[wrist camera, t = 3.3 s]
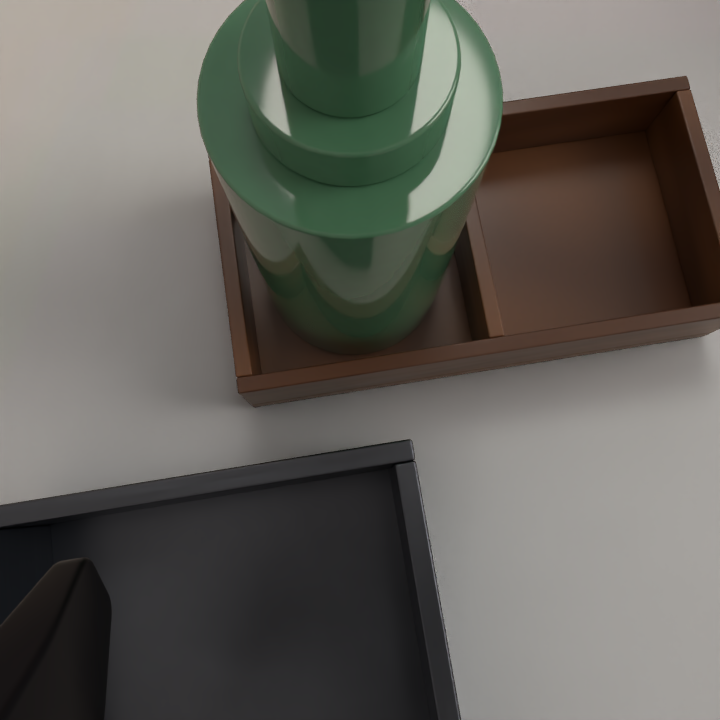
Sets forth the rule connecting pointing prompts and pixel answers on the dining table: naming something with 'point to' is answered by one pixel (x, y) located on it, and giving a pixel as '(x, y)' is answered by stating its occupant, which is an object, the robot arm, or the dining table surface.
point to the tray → (256, 589)
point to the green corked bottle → (350, 154)
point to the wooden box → (530, 252)
